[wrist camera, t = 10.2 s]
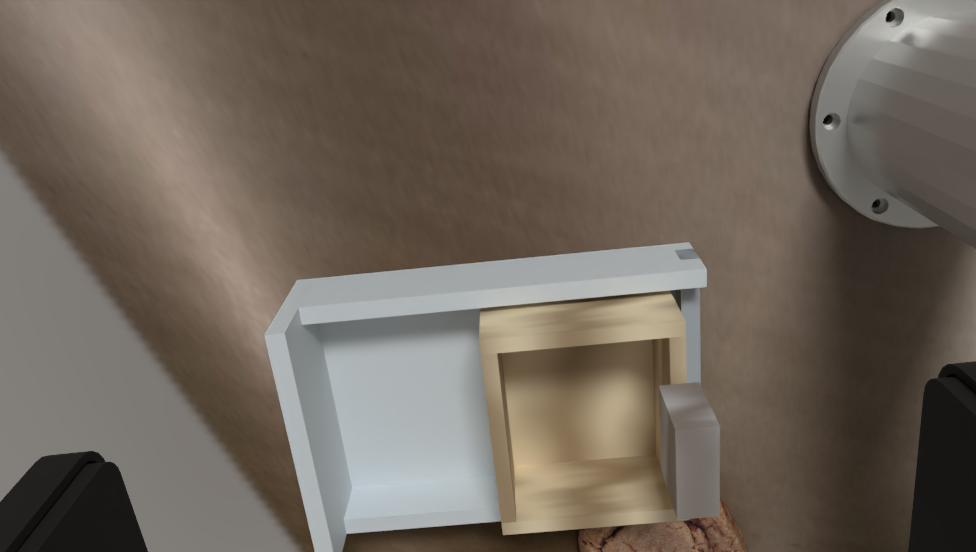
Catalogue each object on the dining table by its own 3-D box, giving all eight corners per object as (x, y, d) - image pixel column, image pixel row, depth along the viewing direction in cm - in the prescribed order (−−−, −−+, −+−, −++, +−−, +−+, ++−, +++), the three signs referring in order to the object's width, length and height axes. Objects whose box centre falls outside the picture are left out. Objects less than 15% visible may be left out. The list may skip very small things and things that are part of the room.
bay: (688, 242, 45) (722, 292, 38) (691, 463, 50) (721, 539, 43) (297, 280, 46) (264, 335, 39) (341, 492, 51) (319, 571, 44)
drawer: (673, 274, 44) (720, 359, 35) (677, 456, 48) (719, 572, 39) (480, 293, 45) (477, 381, 35) (501, 470, 49) (503, 589, 40)
